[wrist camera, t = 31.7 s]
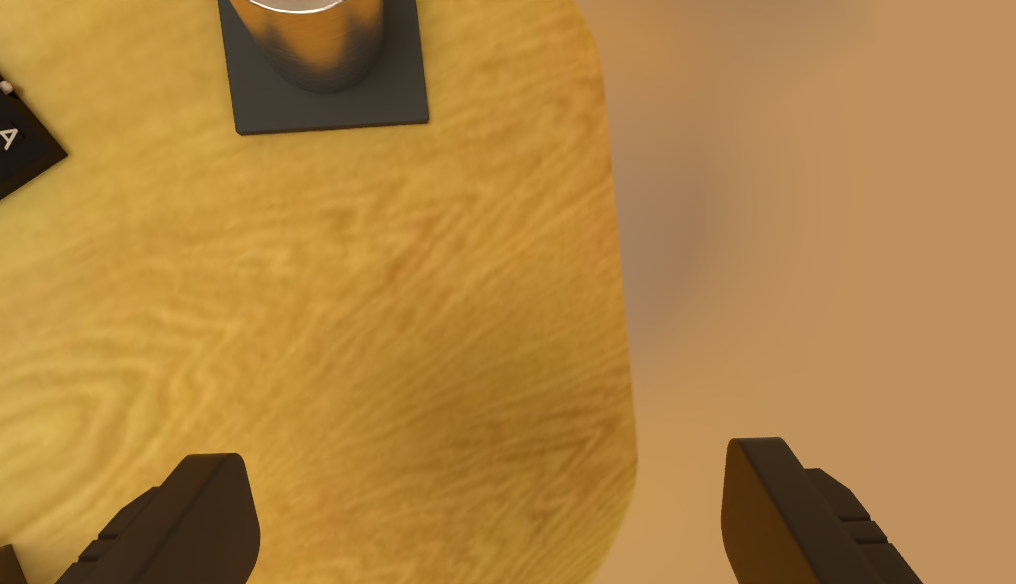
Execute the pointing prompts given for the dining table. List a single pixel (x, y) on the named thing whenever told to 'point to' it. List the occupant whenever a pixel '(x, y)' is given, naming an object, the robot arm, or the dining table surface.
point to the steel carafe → (317, 39)
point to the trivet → (287, 108)
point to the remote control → (22, 143)
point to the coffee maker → (10, 567)
